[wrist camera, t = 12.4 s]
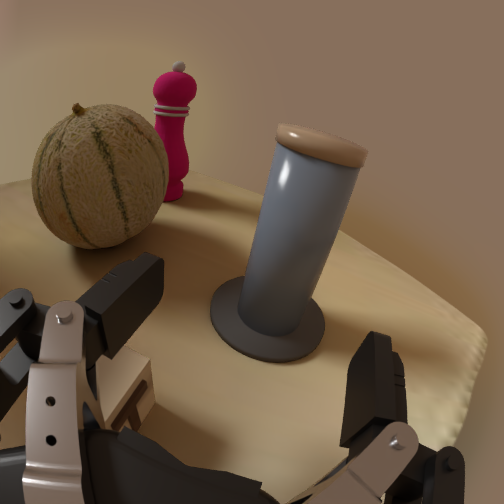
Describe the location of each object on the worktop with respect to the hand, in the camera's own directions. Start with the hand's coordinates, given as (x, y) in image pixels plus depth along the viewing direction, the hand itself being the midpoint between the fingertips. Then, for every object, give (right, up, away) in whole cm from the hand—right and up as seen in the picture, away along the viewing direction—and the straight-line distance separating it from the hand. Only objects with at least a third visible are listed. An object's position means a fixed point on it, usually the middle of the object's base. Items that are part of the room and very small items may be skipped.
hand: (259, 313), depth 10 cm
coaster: (+1, -3, +14) cm, 15 cm away
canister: (+1, -3, +14) cm, 14 cm away
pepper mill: (-14, +11, +32) cm, 37 cm away
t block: (-9, -8, +4) cm, 13 cm away
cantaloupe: (-17, +4, +19) cm, 26 cm away
